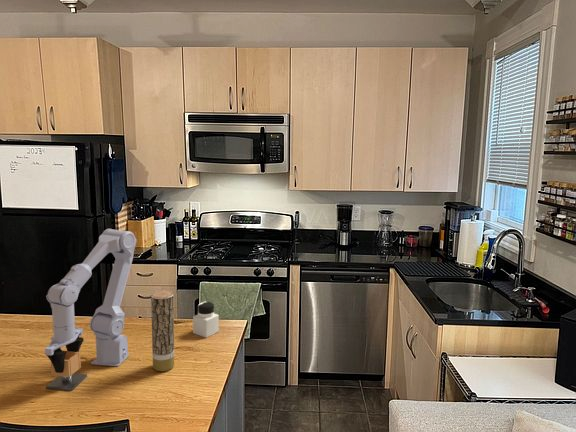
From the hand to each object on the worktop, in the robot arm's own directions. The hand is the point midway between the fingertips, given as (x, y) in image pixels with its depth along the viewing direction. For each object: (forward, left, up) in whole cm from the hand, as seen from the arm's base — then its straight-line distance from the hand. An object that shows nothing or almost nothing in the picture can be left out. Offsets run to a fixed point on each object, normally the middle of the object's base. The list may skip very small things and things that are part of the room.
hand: (66, 366), depth 127 cm
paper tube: (-25, -13, -5) cm, 29 cm away
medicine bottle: (-31, -41, -5) cm, 52 cm away
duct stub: (0, 0, -5) cm, 5 cm away
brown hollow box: (0, 0, -1) cm, 1 cm away
